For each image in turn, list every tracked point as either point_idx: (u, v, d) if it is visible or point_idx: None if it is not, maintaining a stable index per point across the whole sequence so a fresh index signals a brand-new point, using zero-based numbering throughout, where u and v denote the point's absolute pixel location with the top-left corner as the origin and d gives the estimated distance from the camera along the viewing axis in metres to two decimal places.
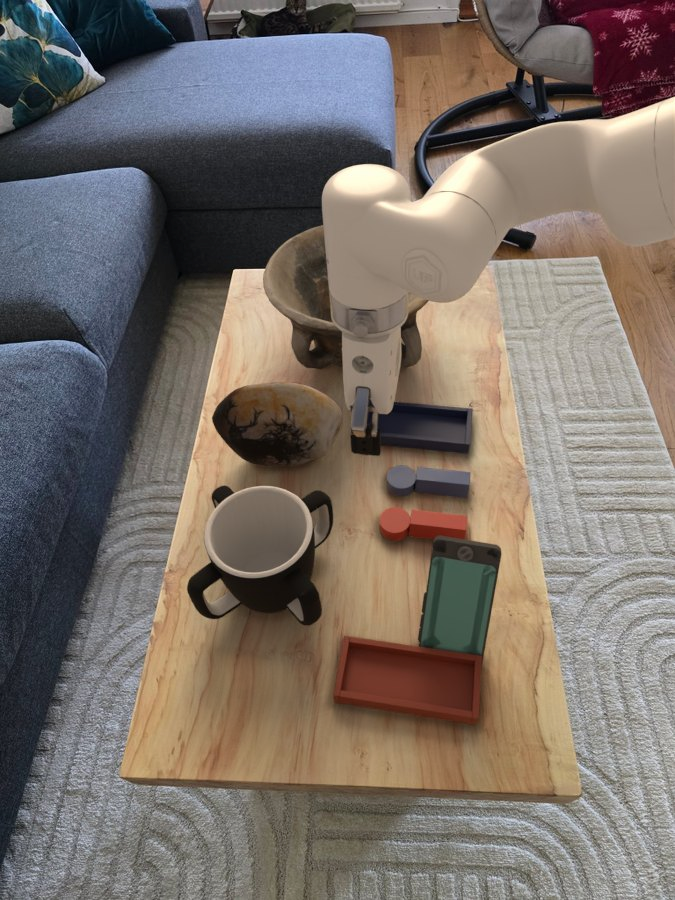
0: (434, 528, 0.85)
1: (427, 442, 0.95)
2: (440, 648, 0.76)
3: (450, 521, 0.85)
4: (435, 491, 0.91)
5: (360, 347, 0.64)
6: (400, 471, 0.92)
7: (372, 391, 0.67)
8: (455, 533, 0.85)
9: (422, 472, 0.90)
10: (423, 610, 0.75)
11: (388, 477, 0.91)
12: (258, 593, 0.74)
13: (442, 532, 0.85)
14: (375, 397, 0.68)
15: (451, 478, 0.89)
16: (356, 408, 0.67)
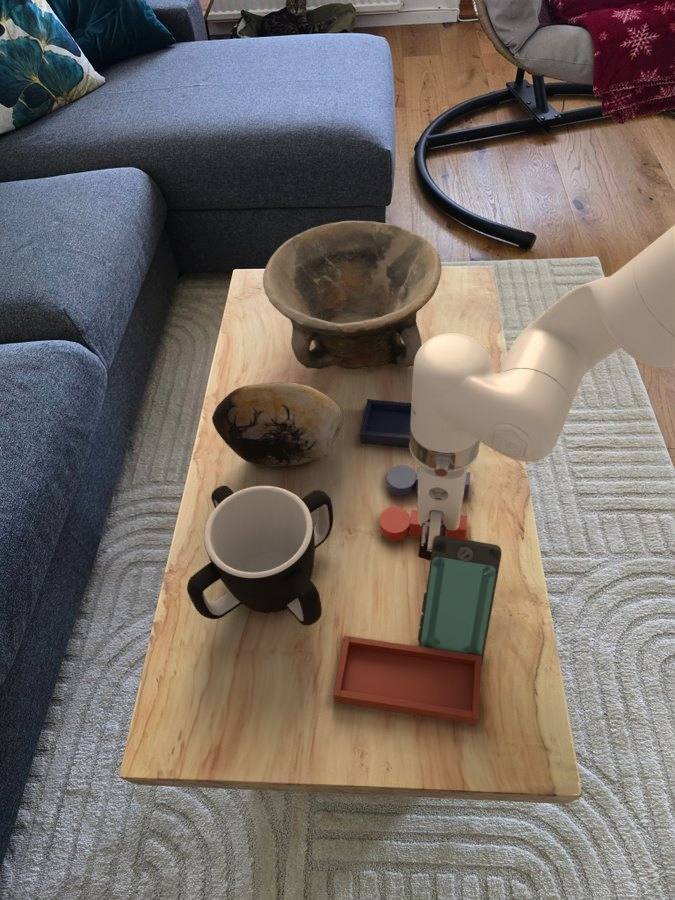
0: None
1: None
2: (440, 648, 0.76)
3: None
4: None
5: (438, 481, 0.72)
6: (400, 471, 0.92)
7: (444, 514, 0.75)
8: (455, 533, 0.85)
9: None
10: (423, 610, 0.75)
11: (388, 477, 0.91)
12: (258, 593, 0.74)
13: None
14: (446, 518, 0.76)
15: None
16: (430, 530, 0.75)
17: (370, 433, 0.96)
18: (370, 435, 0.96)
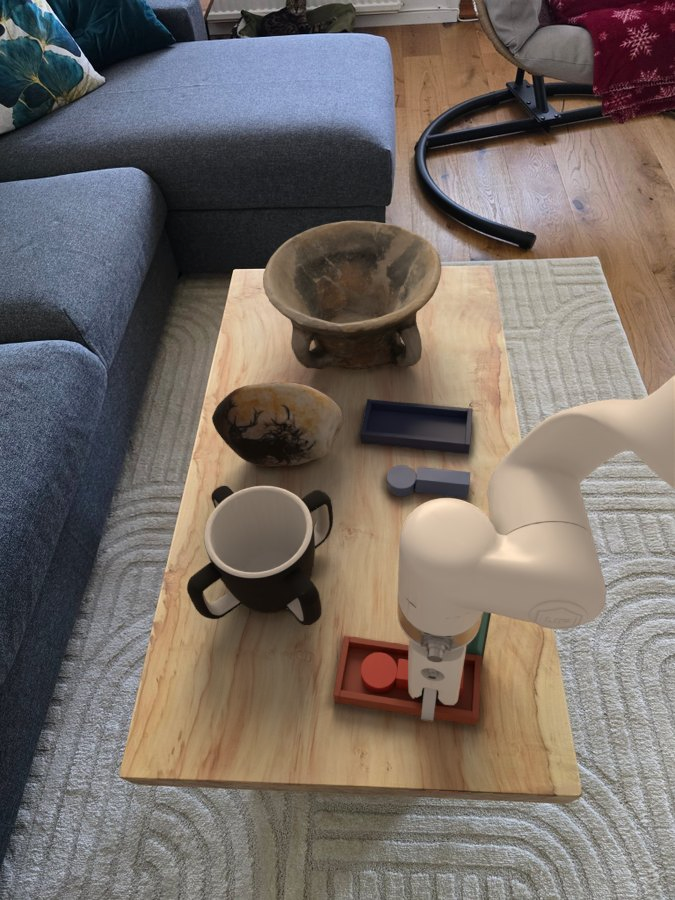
0: None
1: (427, 442, 0.95)
2: None
3: None
4: (435, 491, 0.91)
5: (431, 662, 0.59)
6: (400, 471, 0.92)
7: (440, 692, 0.62)
8: None
9: (422, 472, 0.90)
10: None
11: (388, 477, 0.91)
12: (258, 593, 0.74)
13: None
14: (443, 696, 0.63)
15: (451, 478, 0.89)
16: (424, 705, 0.64)
17: (370, 433, 0.96)
18: (370, 435, 0.96)
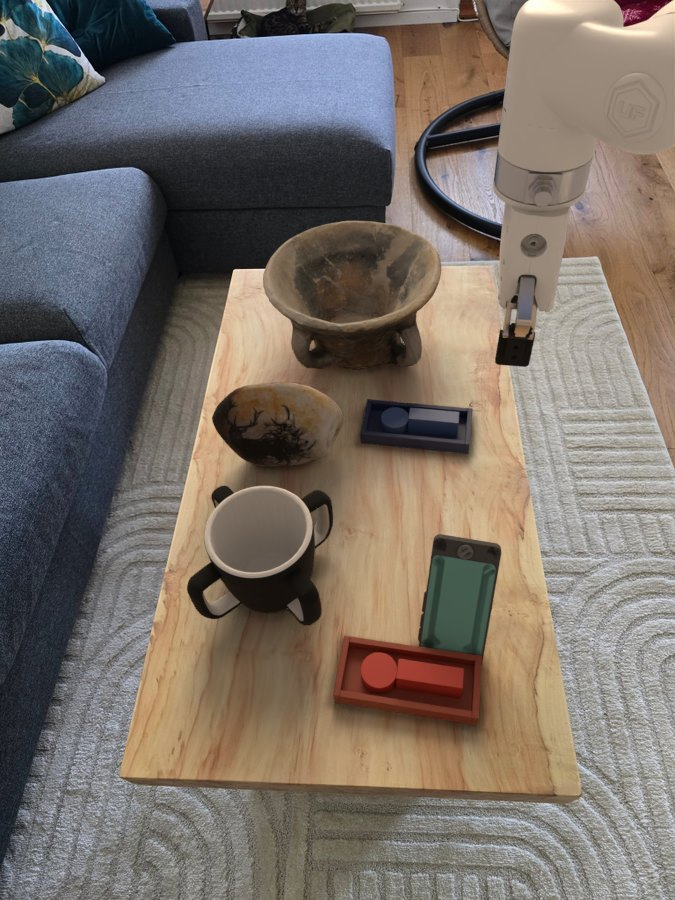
0: (425, 684, 0.72)
1: (427, 442, 0.95)
2: (440, 648, 0.76)
3: (443, 675, 0.72)
4: (426, 430, 0.97)
5: (535, 222, 0.55)
6: (394, 412, 0.98)
7: (538, 280, 0.58)
8: (449, 690, 0.72)
9: (414, 412, 0.96)
10: (423, 609, 0.75)
11: (382, 418, 0.97)
12: (258, 593, 0.74)
13: (434, 688, 0.72)
14: (540, 288, 0.59)
15: (441, 417, 0.95)
16: (521, 299, 0.58)
17: (370, 433, 0.96)
18: (370, 435, 0.96)
